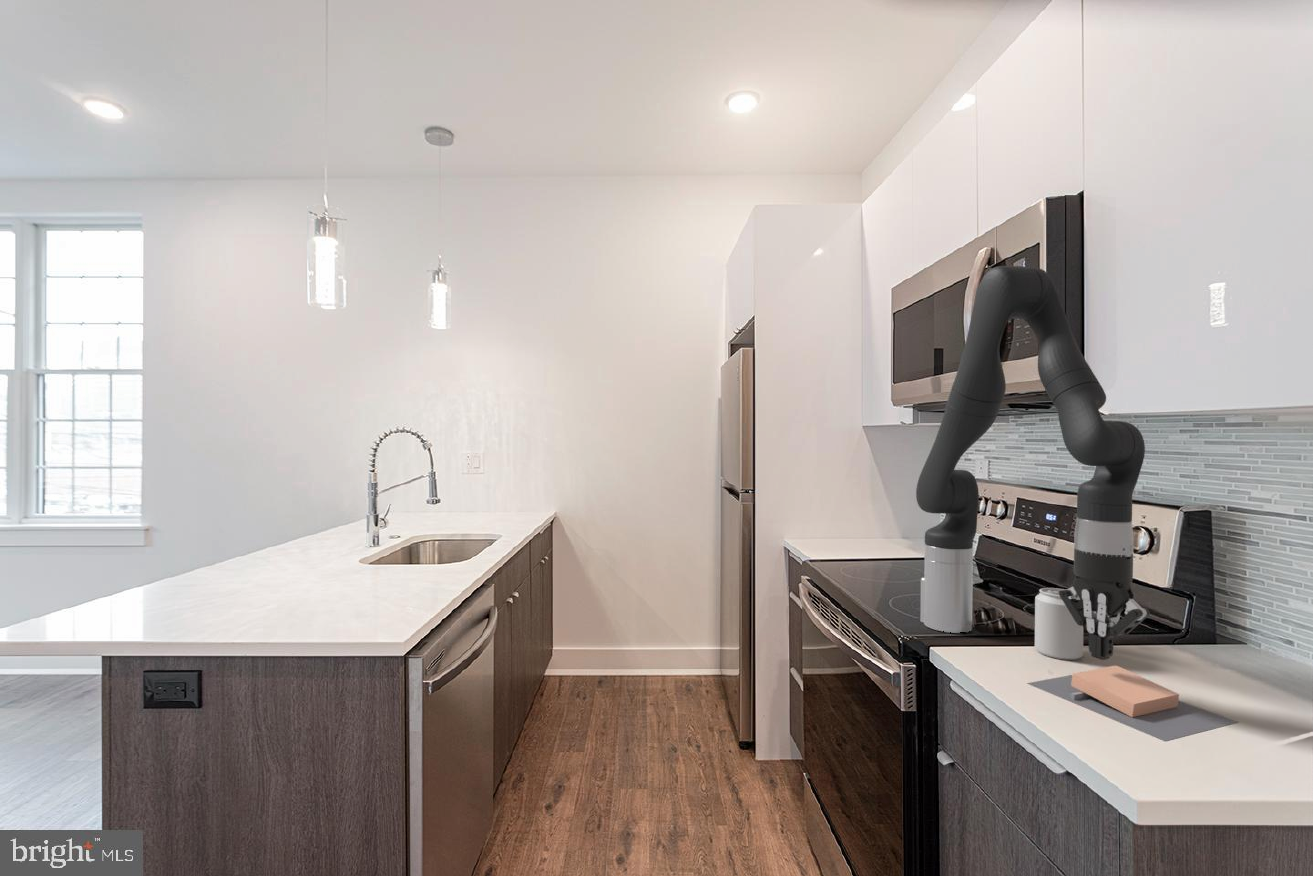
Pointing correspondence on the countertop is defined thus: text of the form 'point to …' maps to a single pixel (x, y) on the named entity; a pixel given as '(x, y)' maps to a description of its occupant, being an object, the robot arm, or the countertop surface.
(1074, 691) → the mat
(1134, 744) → the countertop surface
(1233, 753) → the countertop surface
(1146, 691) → the tile
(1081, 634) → the can
